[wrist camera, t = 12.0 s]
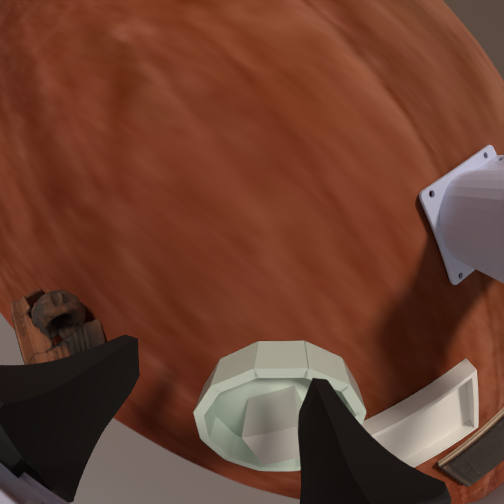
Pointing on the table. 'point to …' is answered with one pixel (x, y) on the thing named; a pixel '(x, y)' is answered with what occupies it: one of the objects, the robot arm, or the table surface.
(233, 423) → the bowl
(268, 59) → the table surface
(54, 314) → the pottery mug
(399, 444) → the tray
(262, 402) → the block
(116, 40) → the table surface
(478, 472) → the hardcover book
